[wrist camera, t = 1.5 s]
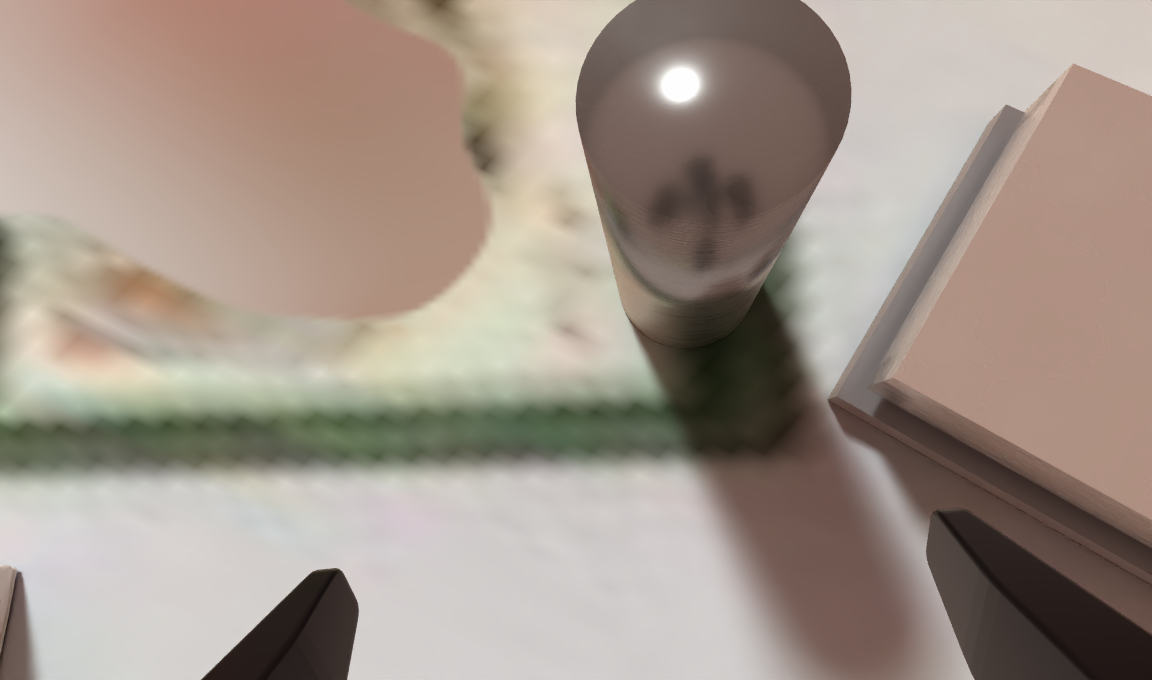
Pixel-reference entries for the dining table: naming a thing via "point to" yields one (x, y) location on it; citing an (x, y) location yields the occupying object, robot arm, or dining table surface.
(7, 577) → the tea box
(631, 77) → the cylinder
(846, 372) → the scale
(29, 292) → the dining table surface
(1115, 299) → the pan
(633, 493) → the dining table surface
